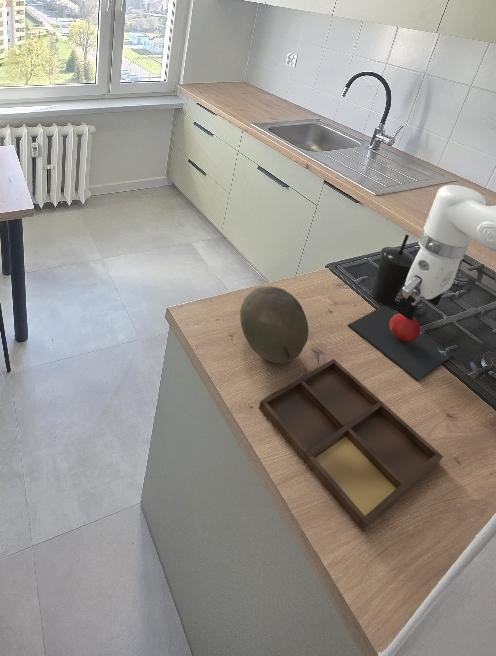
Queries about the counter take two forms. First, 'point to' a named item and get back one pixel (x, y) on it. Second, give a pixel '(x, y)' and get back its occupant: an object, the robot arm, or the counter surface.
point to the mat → (400, 344)
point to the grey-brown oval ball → (274, 324)
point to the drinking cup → (392, 273)
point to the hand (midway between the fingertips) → (416, 307)
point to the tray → (350, 440)
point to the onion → (404, 328)
